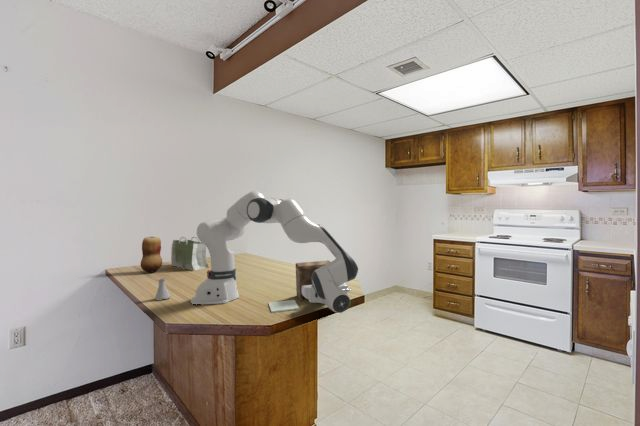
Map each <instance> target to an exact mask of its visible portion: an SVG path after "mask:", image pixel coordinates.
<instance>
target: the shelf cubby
mask: <svg viewBox="0 0 640 426" xmlns="http://www.w3.org/2000/svg"><path fill="white" fill-rule="evenodd" d="M330 262H331V261H330V260H328V259H327V260H318V261H307V262H306V261H305V262H295V281H296V282H295V283H296V287H295V288H296V297H297V298H298V300H299V301H301V302H302V301H304V300H303V297H304V296H303V295H302V286H304V285H312V282H311V277H312V273H313V271H315V270H316V269H318V268H320V267H322V266H324V265H326V264H328V263H330Z"/></svg>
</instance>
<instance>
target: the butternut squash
mask: <svg viewBox="0 0 640 426" xmlns="http://www.w3.org/2000/svg"><path fill="white" fill-rule="evenodd" d="M161 251H162V240H161V238H160V237H158V236H147V237H144V238H143V240H142V243H141V252H142V256H141V257H142V258H141V260H140V268H141V269H142V271H144V272H146V273H147V272H150V273H154V272H153V271H155V272H156V271H158V270H159V269H161V267H162V266H163V258H162V256H161Z"/></svg>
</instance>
